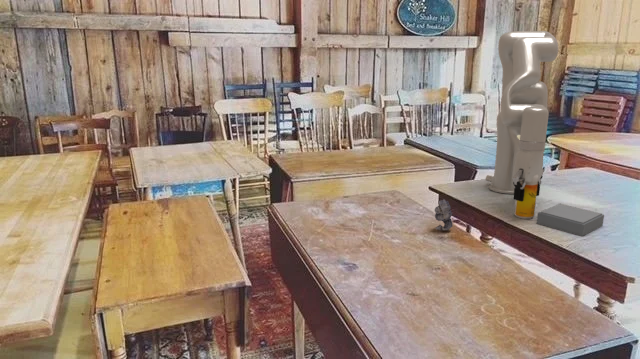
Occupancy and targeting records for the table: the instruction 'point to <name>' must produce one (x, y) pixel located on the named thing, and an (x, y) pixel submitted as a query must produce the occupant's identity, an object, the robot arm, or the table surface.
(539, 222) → the plinth
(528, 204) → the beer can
